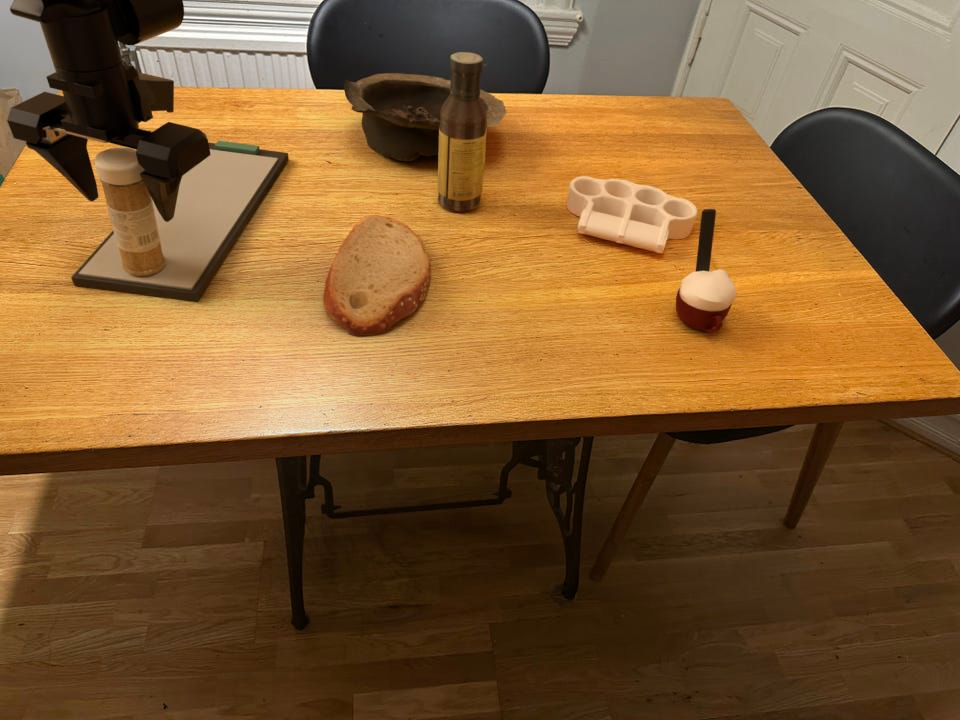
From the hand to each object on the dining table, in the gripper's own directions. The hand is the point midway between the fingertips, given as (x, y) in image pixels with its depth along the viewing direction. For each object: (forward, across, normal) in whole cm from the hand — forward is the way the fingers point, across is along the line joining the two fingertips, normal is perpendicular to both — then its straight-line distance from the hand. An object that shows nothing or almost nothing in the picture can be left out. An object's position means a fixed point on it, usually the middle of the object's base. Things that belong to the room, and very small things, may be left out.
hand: (131, 209), depth 74 cm
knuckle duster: (+9, -50, -36) cm, 62 cm away
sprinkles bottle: (+7, 0, 0) cm, 7 cm away
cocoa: (+9, -61, -18) cm, 65 cm away
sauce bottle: (+9, -27, -31) cm, 42 cm away
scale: (+9, +3, -13) cm, 16 cm away
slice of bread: (+9, -23, -10) cm, 27 cm away
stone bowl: (+9, -16, -47) cm, 50 cm away
